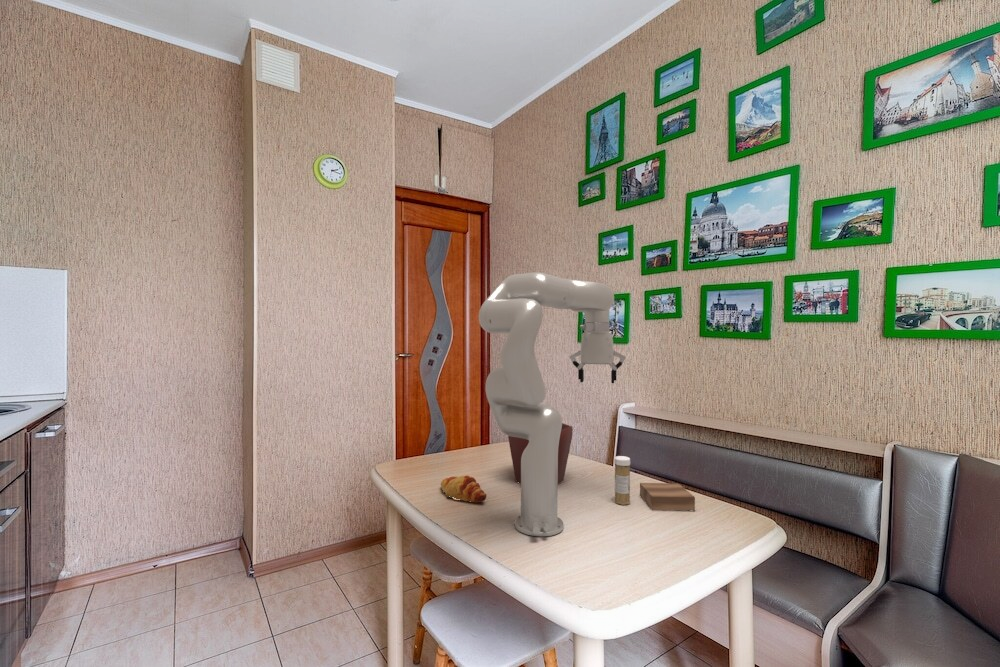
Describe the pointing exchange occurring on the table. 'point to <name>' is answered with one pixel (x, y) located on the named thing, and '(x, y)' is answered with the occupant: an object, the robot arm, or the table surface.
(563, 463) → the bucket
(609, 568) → the table surface
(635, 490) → the table surface
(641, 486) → the walnut plinth
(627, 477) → the sprinkles bottle
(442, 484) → the croissant
